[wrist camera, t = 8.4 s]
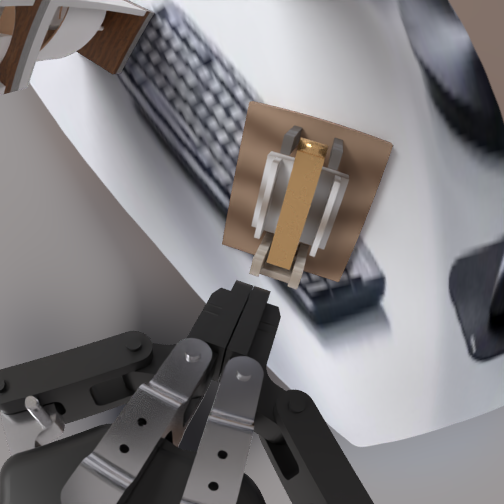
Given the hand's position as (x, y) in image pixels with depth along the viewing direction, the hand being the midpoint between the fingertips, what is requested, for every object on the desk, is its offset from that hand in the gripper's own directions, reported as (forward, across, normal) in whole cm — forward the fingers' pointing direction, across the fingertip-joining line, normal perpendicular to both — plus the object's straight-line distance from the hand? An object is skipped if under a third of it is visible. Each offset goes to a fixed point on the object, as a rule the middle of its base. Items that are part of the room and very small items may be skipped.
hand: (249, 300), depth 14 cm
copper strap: (+24, 0, +6) cm, 24 cm away
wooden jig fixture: (+30, 0, +7) cm, 30 cm away
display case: (+30, +33, -12) cm, 46 cm away
